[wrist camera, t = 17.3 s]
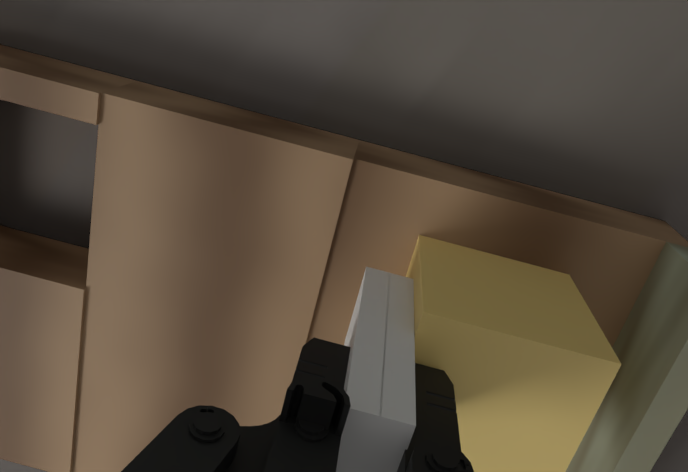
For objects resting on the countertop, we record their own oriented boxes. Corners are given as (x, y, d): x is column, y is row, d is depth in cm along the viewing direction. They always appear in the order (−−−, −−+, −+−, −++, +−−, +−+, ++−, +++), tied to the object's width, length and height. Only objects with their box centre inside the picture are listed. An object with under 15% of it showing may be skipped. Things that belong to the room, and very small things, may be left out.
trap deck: (-47, 391, 27) (-159, 487, 22) (-58, 29, 21) (-217, 41, 15) (506, 538, 27) (530, 671, 22) (664, 221, 21) (753, 299, 15)
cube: (378, 360, 21) (371, 463, 16) (418, 234, 19) (423, 311, 14) (515, 396, 21) (545, 509, 16) (569, 274, 19) (621, 364, 14)
